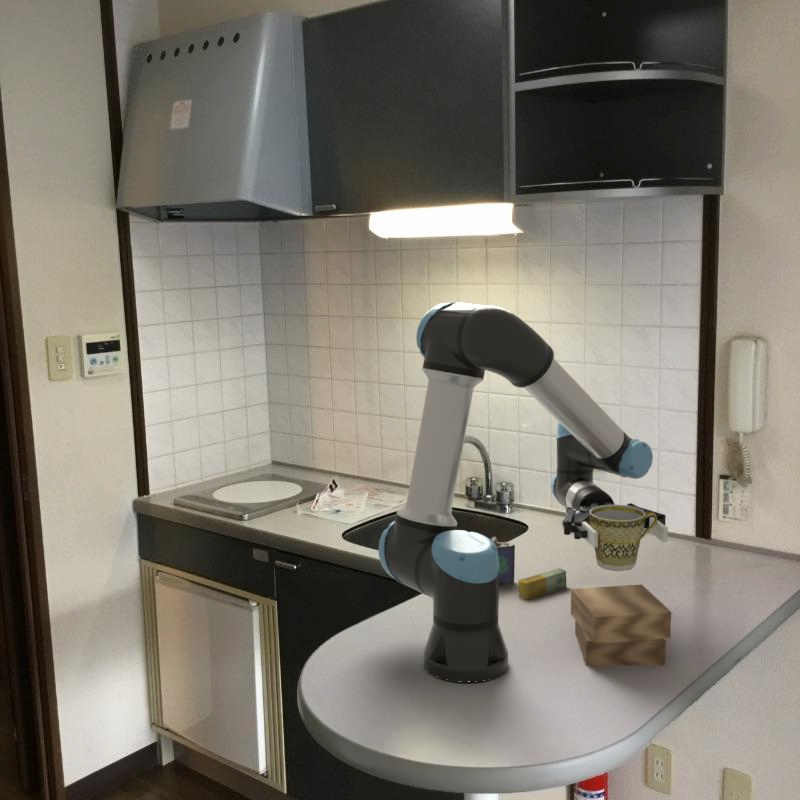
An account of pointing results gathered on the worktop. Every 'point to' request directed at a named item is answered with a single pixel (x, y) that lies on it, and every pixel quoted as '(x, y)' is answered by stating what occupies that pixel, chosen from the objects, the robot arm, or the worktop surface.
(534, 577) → the medication box
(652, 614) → the tower top block
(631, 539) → the ceramic cup
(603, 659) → the tower bottom block
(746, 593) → the worktop surface
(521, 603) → the worktop surface
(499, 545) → the flask
